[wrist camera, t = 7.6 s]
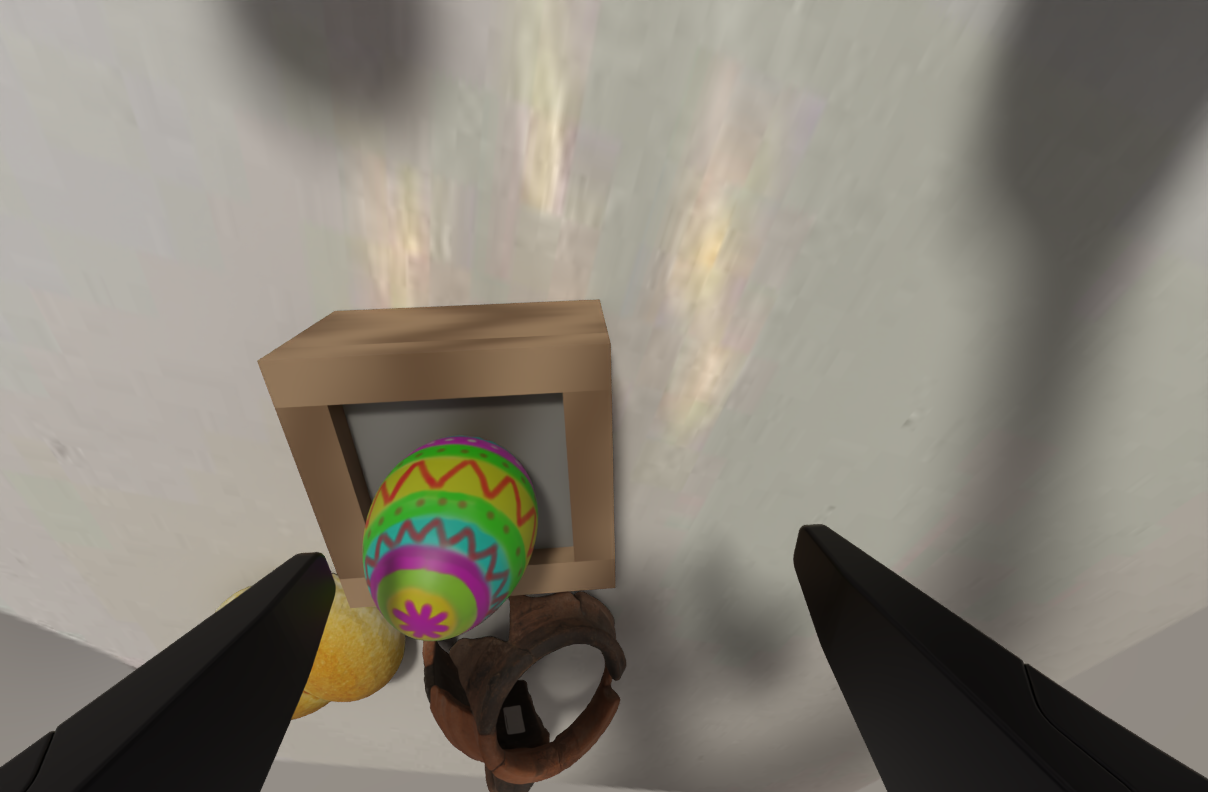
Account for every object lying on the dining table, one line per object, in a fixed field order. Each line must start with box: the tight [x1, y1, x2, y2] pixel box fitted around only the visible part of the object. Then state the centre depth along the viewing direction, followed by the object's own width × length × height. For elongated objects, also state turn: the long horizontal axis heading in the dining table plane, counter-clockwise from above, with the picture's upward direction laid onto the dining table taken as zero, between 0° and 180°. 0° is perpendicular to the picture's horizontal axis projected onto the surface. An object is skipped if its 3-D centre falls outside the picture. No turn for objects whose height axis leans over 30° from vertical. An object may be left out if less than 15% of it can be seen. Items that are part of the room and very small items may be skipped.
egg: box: [363, 436, 538, 641], centre depth 14 cm, size 5×5×6 cm
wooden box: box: [257, 300, 615, 608], centre depth 18 cm, size 10×10×5 cm
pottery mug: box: [422, 591, 626, 792], centre depth 24 cm, size 12×10×8 cm
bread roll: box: [216, 573, 405, 720], centre depth 23 cm, size 8×9×4 cm
